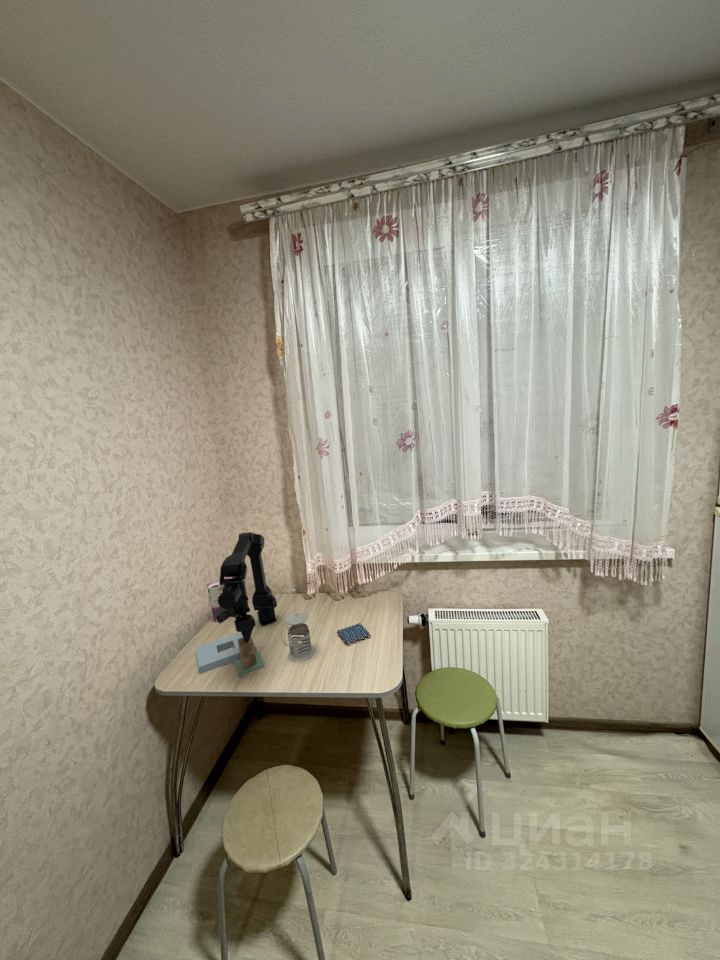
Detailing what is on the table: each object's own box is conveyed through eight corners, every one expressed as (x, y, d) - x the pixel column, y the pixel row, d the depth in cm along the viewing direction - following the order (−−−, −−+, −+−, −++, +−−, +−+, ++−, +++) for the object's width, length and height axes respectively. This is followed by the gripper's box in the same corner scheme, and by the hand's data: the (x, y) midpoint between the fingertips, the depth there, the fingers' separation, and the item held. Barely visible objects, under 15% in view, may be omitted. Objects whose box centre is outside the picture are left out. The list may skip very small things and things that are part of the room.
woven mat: (335, 634, 149) (335, 630, 149) (360, 626, 153) (359, 621, 153) (346, 648, 139) (345, 643, 139) (371, 639, 144) (371, 634, 143)
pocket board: (249, 635, 153) (249, 629, 153) (257, 652, 141) (256, 646, 141) (196, 653, 145) (195, 647, 144) (199, 673, 132) (198, 667, 132)
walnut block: (253, 657, 138) (250, 634, 136) (256, 664, 134) (253, 640, 132) (241, 662, 136) (237, 639, 134) (243, 668, 132) (239, 645, 130)
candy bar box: (237, 609, 176) (232, 576, 173) (239, 614, 171) (234, 580, 169) (212, 617, 171) (206, 583, 168) (213, 622, 166) (207, 587, 164)
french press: (320, 651, 138) (312, 587, 134) (294, 667, 130) (284, 600, 126) (304, 641, 145) (295, 580, 141) (278, 656, 137) (268, 592, 133)
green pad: (259, 653, 141) (258, 652, 141) (264, 666, 133) (264, 665, 133) (234, 662, 137) (233, 661, 137) (238, 676, 129) (238, 675, 129)
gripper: (210, 591, 135) (217, 631, 137) (216, 613, 118) (224, 658, 121) (242, 582, 140) (248, 621, 142) (252, 602, 123) (259, 646, 126)
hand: (244, 636), depth 133 cm, fingers open, 9 cm apart
